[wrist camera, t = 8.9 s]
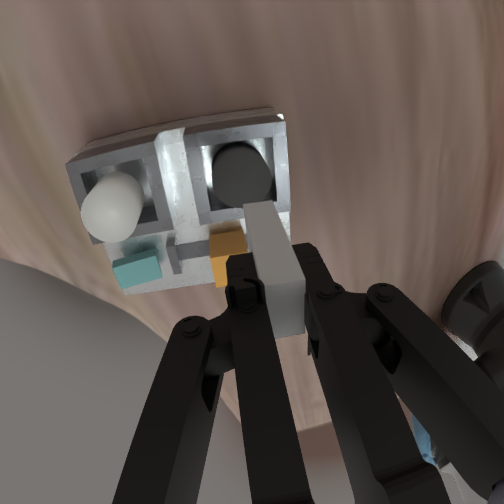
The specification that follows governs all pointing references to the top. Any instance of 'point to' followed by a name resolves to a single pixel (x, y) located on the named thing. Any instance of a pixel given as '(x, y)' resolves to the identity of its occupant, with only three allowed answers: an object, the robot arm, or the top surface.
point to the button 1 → (113, 207)
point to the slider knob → (225, 252)
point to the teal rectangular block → (137, 269)
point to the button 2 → (240, 175)
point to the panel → (183, 187)
